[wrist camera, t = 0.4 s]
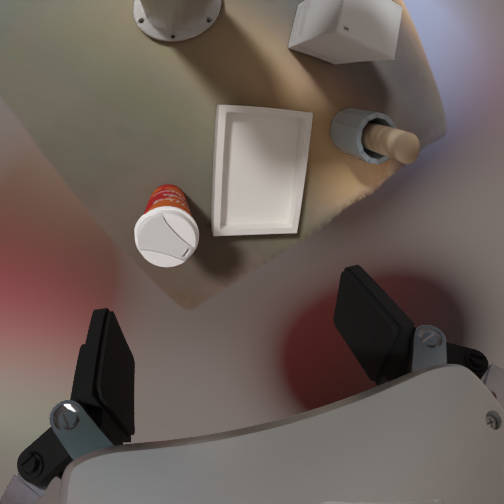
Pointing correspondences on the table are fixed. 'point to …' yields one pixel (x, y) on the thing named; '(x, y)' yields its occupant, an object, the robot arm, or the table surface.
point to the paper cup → (167, 228)
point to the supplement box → (346, 30)
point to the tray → (258, 169)
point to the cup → (357, 132)
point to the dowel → (391, 142)
